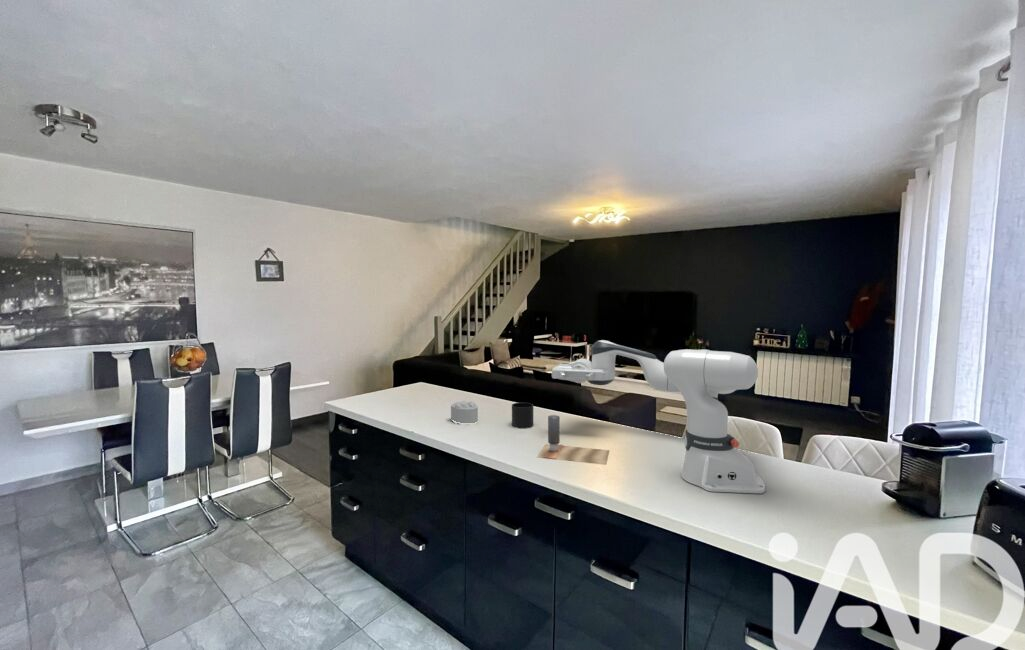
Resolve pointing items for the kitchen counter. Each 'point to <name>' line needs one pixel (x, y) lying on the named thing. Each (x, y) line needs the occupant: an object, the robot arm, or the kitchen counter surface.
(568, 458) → the board
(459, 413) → the lumpy-topped squat cylinder
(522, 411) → the mug
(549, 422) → the round-topped grey cylinder
